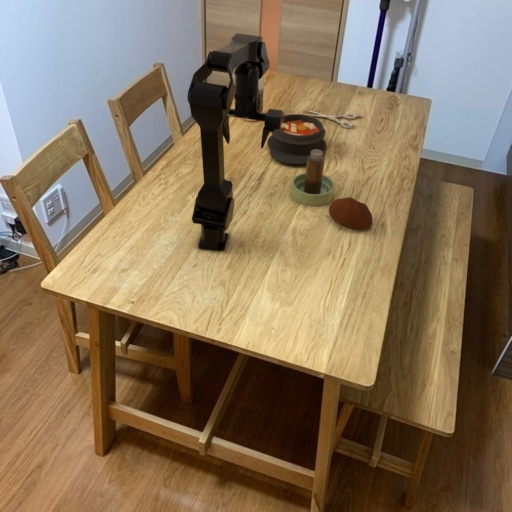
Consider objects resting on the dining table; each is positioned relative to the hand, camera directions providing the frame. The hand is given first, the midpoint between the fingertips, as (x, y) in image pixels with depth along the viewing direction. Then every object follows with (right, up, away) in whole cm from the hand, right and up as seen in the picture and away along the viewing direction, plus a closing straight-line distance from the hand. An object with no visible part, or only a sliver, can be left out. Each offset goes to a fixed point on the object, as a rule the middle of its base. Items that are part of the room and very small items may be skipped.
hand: (245, 145), depth 139 cm
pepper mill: (+18, -12, +7) cm, 23 cm away
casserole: (+16, +4, +27) cm, 32 cm away
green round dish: (+18, -12, +7) cm, 23 cm away
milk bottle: (+1, +19, +44) cm, 48 cm away
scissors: (+28, +19, +44) cm, 56 cm away
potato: (+27, -21, -2) cm, 34 cm away
